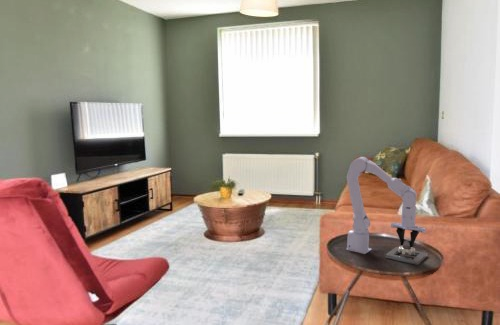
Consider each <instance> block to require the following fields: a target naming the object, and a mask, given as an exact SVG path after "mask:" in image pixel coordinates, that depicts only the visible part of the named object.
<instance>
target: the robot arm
mask: <svg viewBox="0 0 500 325" xmlns="http://www.w3.org/2000/svg"><path fill="white" fill-rule="evenodd" d="M363 172H364V173H370V174H371V173H372V174H374V175H375V176H377V177H378V178H379V179H380V180H382V181H383V182H385V183H386V184H387V188H388V190H389V189H390V190H391V191H392V192H393V193H394V194H396V195H397V196H398V197H401V201H402V205H401V218H400V219H401V221H400V222H401V223H400V222H399V223H398V222H391V223H390V228H393V229H394V228H395V229H396V230H395V231H396V233H397V235H398V238H399V243H400V246H403V239H405V233H406V231H411V232H410V240H411V243H410V247H413V248H414V246H415V245H414V244H415V242H416V239H417V237H418V235H419V233H422V234H425V233H426V230H427V229H426V227H422V226H418V225H416V214H417V210H416V209H417V198H418V194H417V191H416V190H415V189H414V188H412V187H411V186H410V185H407V184H405V182H403V181H402V179H401V178H398V177H391V175H389V174H388V173H387V172H386V171H384V169H383V168H381V167H380V166H378V165H377V164H376V163H375V162H374V161H372V160H370V159H369V158H368V157H366V156H360V157H357V158H355V159H354V160H353V161H351V163H350V164H349V168H348V171H347V174H346V182H347V187H348V190H349V198H350V201H351V207H352V211H353V212H352V213H353V215H352V220H353V223H352V229H350V230H349V231H348V233H347V238H346V239H347V242H346V250H347V251H350V252H355V253H359V254H362V255H363V254H364V255H365V254H367V253H369V252H371V251H372V248H371V247H369V246H370V245H369V244H370V243H369V242H370V230H369V227H370V225H371V221H370V219H369V218H368V215H367V212H366V210H365V207H364V202H363V197H362V191H361V188H360V187H361V186H360V182H359V177H360V176H361V175H362V173H363Z"/></svg>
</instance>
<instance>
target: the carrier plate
mask: <svg viewBox="0 0 500 325" xmlns="http://www.w3.org/2000/svg"><path fill="white" fill-rule="evenodd" d="M398 247H399V246H395V247H394V248H392V249H391V250H390V251H388V252H386V254H385V257H384V258H385V259H390V260H393V261H398V262H403V263H406V264H410V265H411V264H412V265H416V266H418V265H420V264H421V263H422V262H423V261H424V260H425V259H426V258H427V257H428V252H423V251H418V250H415V254H411V255H410V256H415V257H414V258H412V257H407V256H403V255H398V254H400V253H399V252H398Z"/></svg>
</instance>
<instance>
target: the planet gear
mask: <svg viewBox="0 0 500 325" xmlns="http://www.w3.org/2000/svg"><path fill="white" fill-rule="evenodd" d="M410 243H411V239H409V238H404V239H403V245H399V246H397V247H398V252H399V253H398V254H402V255H410V256H412V255H411V254H415V251H416V248H415V247H414V246H413V247H410Z"/></svg>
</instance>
